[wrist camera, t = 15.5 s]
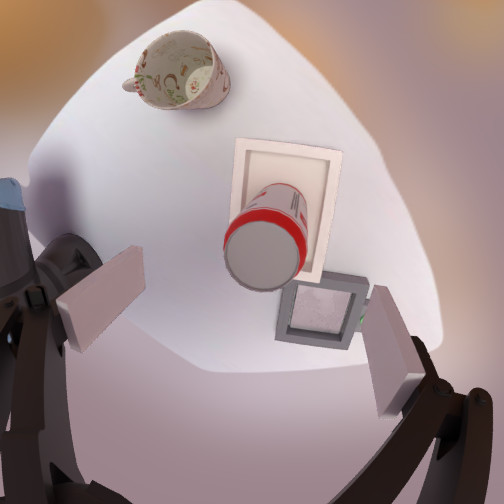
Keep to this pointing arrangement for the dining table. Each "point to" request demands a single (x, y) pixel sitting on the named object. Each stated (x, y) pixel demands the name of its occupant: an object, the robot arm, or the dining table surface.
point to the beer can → (268, 239)
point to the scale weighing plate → (319, 309)
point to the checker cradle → (352, 317)
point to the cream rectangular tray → (297, 175)
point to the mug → (180, 73)
